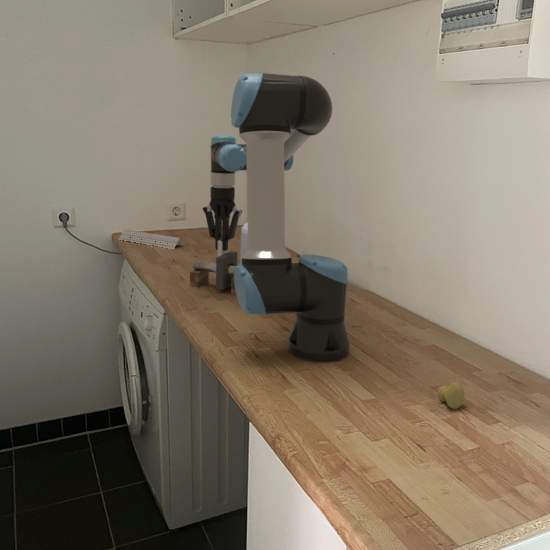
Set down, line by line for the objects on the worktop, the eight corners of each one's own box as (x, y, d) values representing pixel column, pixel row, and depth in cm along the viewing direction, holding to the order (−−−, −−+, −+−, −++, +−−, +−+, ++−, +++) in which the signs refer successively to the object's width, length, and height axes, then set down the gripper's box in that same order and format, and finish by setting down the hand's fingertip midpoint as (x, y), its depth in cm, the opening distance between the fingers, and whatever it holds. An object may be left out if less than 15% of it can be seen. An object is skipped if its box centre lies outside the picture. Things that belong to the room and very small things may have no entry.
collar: (236, 281, 190) (237, 252, 188) (222, 289, 181) (223, 258, 179) (230, 280, 191) (230, 251, 188) (215, 288, 182) (216, 257, 180)
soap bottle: (261, 265, 217) (263, 205, 210) (269, 270, 211) (271, 208, 204) (239, 267, 213) (240, 206, 207) (246, 272, 207) (248, 209, 201)
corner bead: (117, 242, 247) (116, 231, 245) (130, 238, 255) (130, 227, 253) (173, 251, 235) (173, 239, 234) (185, 247, 243) (185, 236, 241)
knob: (466, 406, 117) (470, 384, 116) (449, 412, 114) (453, 389, 113) (448, 396, 121) (451, 375, 120) (431, 402, 118) (434, 380, 117)
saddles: (249, 289, 188) (249, 274, 186) (239, 295, 181) (239, 279, 180) (200, 281, 194) (200, 267, 193) (189, 286, 188) (190, 271, 186)
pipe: (246, 276, 184) (247, 266, 184) (242, 278, 182) (242, 268, 181) (197, 268, 191) (197, 259, 190) (193, 270, 188) (193, 261, 187)
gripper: (246, 186, 179) (244, 260, 186) (210, 183, 184) (209, 255, 190) (236, 189, 173) (234, 265, 179) (198, 185, 177) (197, 259, 184)
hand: (221, 259), depth 185 cm, fingers closed
